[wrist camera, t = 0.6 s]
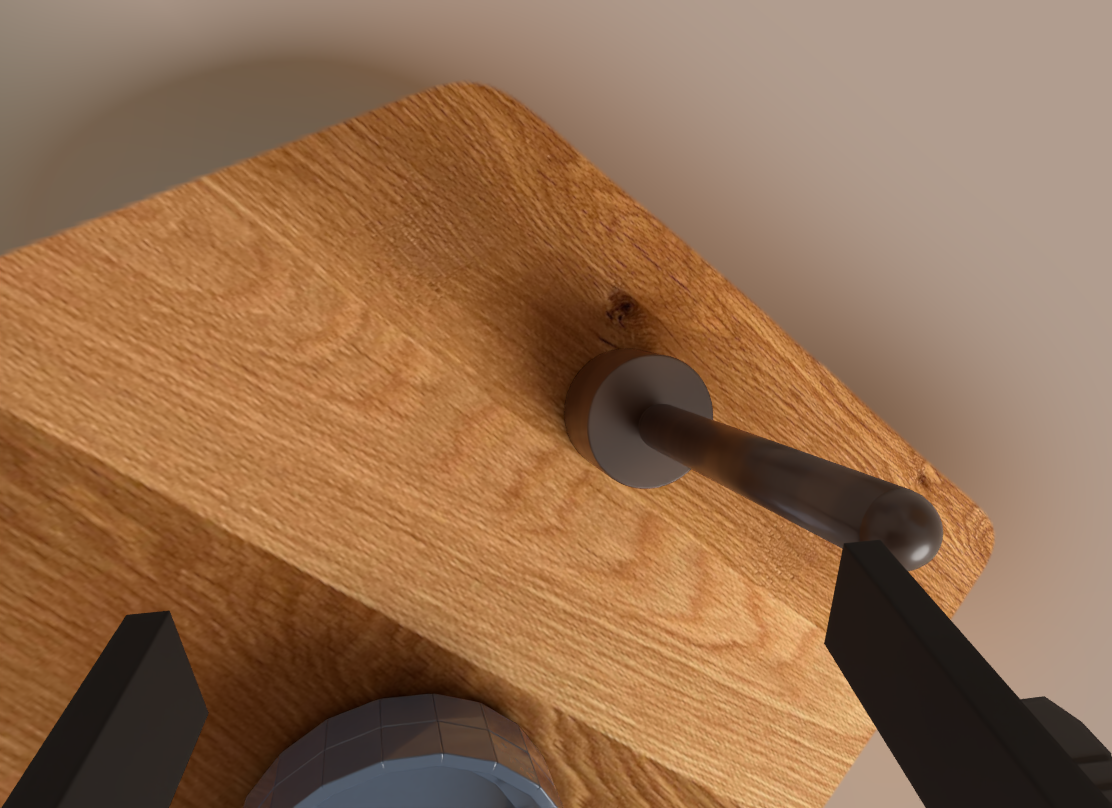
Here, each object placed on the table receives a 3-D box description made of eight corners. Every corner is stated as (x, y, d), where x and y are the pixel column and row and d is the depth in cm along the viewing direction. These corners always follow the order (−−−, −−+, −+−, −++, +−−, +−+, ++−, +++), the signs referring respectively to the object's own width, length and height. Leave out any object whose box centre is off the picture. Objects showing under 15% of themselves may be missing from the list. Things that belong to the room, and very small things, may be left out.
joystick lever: (550, 368, 31) (793, 460, 14) (665, 334, 33) (1021, 378, 15) (580, 486, 33) (835, 707, 15) (689, 448, 34) (1041, 613, 16)
